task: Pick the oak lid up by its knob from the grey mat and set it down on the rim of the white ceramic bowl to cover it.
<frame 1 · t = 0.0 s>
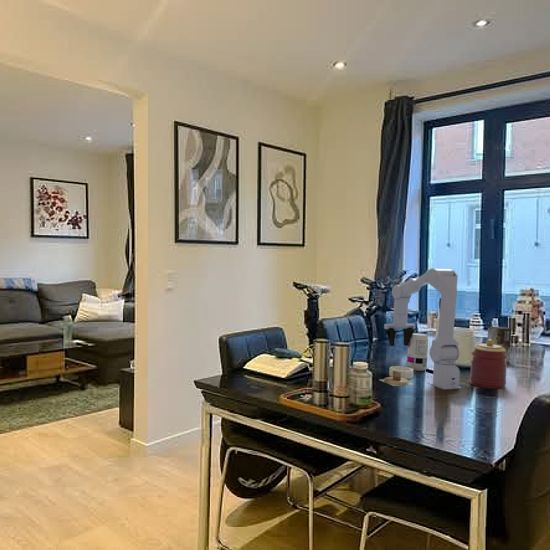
hand: (398, 345, 223), 10 cm above the table, tool pointing down, fingers open, 7 cm apart
canister: (487, 385, 202), on the table
lid: (396, 381, 199), resting on mat
supplement can: (416, 369, 226), on the table, touching gripper
coffee box: (497, 361, 253), on the table
bowl: (401, 377, 209), on the table
mat: (396, 382, 199), on the table
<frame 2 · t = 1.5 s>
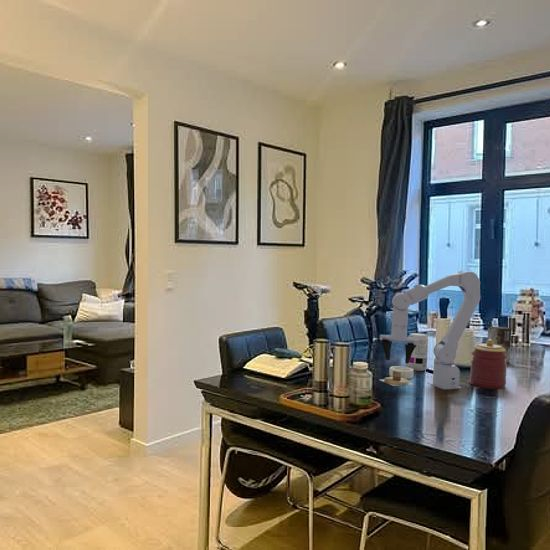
hand: (397, 361, 199), 8 cm above the table, tool pointing down, fingers open, 7 cm apart
supplement can: (416, 369, 226), on the table
everything else where it was.
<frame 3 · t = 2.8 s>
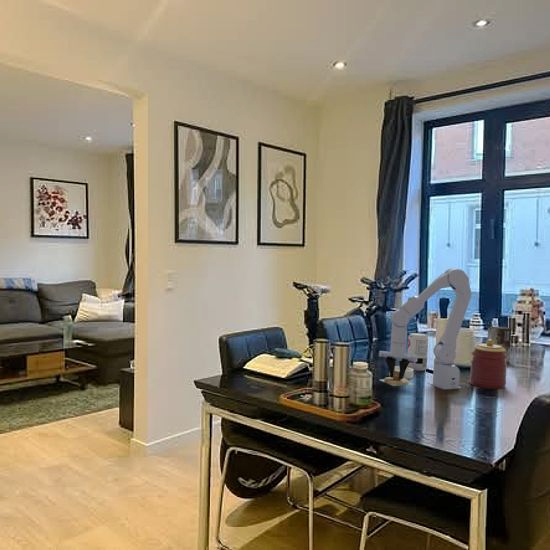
hand: (396, 378, 199), 2 cm above the table, tool pointing down, fingers closed on lid, 3 cm apart
lid: (396, 381, 199), resting on mat, touching gripper
everything else where it was.
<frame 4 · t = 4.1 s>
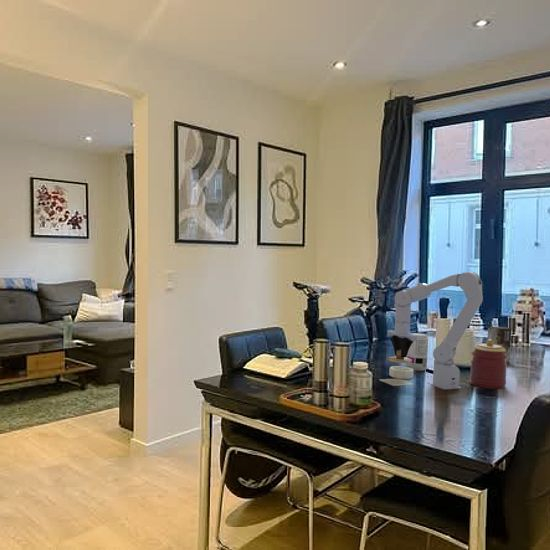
hand: (400, 356, 205), 9 cm above the table, tool pointing down, fingers closed on lid, 3 cm apart
lid: (399, 360, 205), point 7 cm above the table, touching gripper
everything else where it was.
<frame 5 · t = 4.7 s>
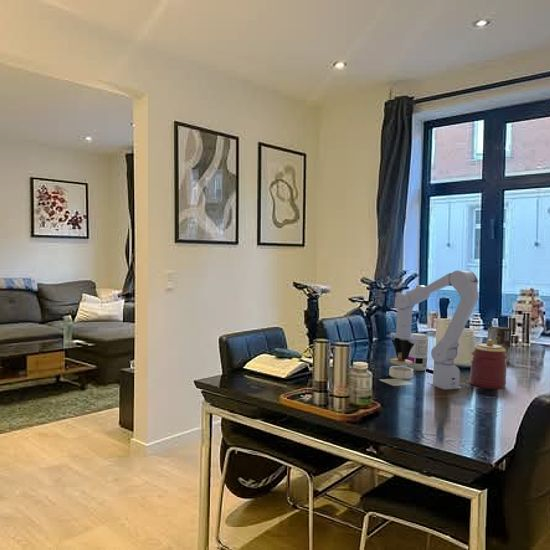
hand: (402, 358, 209), 7 cm above the table, tool pointing down, fingers closed on lid, 3 cm apart
lid: (401, 362, 209), point 6 cm above the table, touching gripper
everything else where it was.
when the fingers open (6 cm above the table, at t = 5.3 s): lid stays where it is, resting on bowl.
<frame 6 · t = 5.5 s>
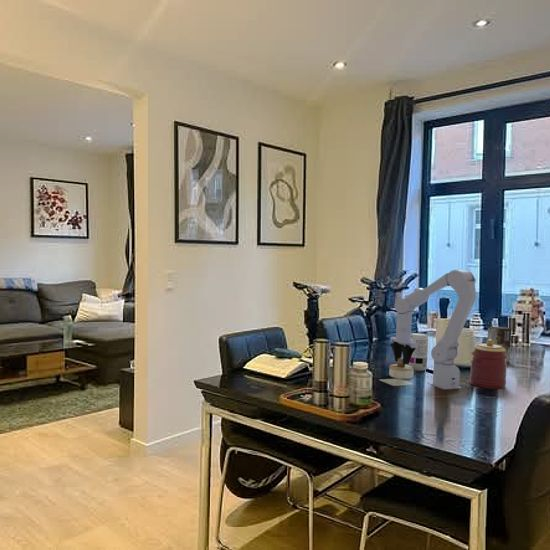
hand: (401, 362, 209), 6 cm above the table, tool pointing down, fingers open, 5 cm apart
lid: (400, 368, 209), point 3 cm above the table, touching bowl
bowl: (401, 377, 209), on the table, touching lid
everything else where it was.
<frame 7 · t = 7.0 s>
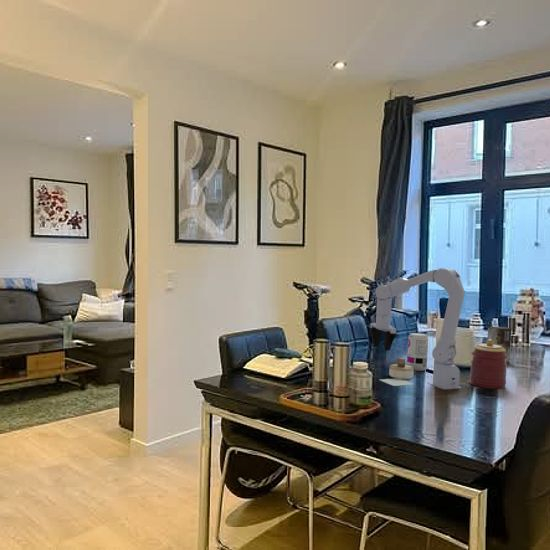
hand: (381, 348, 211), 11 cm above the table, tool pointing down, fingers open, 7 cm apart
lid: (401, 368, 209), point 3 cm above the table
bowl: (401, 377, 209), on the table
everything else where it was.
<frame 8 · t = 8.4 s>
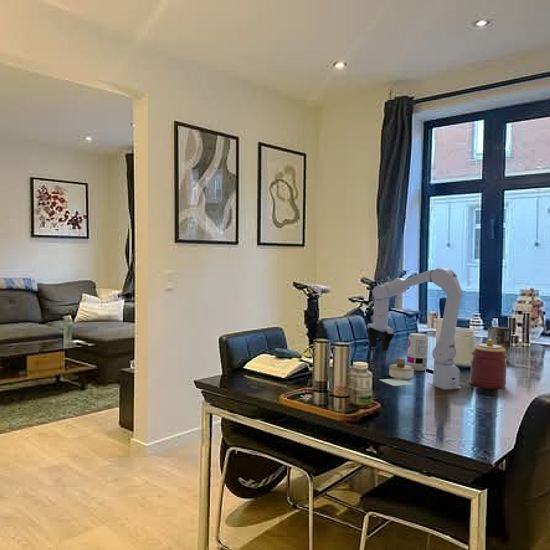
hand: (379, 348, 212), 10 cm above the table, tool pointing down, fingers open, 7 cm apart
lid: (400, 368, 209), point 3 cm above the table, touching bowl
bowl: (401, 377, 209), on the table, touching lid
everything else where it was.
at the end: lid 0.6 cm off-centre on the bowl, point 3.5 cm above the bowl's base; the gripper is holding nothing; bowl tilted 0° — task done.
